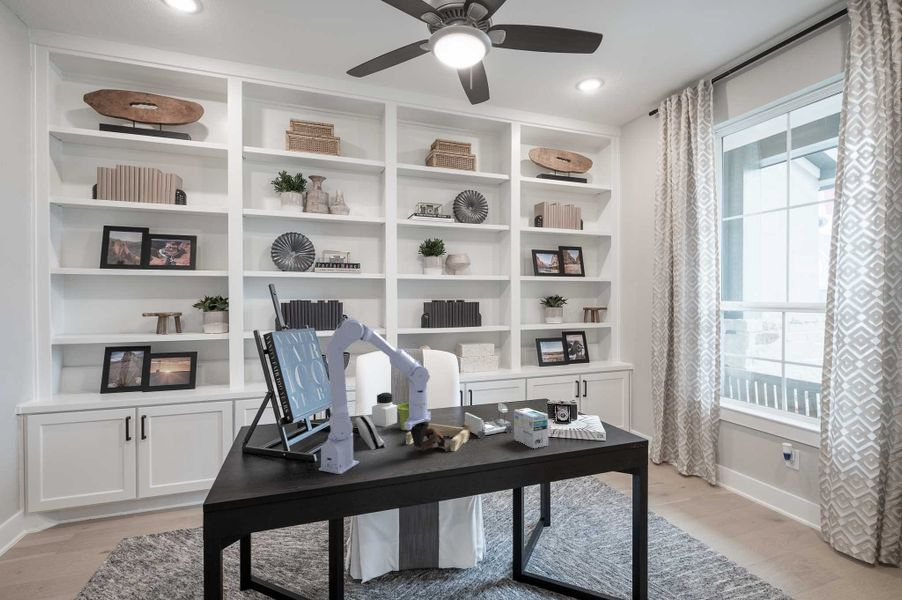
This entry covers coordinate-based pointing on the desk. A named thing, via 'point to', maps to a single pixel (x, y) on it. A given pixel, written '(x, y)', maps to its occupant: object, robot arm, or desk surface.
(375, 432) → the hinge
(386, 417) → the medicine bottle
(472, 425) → the toy car
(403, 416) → the plant pot
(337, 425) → the robot arm
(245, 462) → the desk surface
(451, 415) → the desk surface
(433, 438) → the pottery mug
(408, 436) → the cradle
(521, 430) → the light bulb box
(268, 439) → the desk surface
